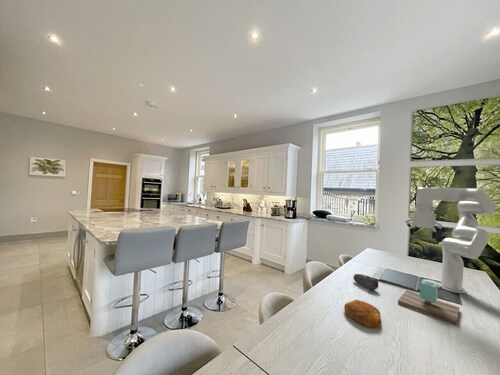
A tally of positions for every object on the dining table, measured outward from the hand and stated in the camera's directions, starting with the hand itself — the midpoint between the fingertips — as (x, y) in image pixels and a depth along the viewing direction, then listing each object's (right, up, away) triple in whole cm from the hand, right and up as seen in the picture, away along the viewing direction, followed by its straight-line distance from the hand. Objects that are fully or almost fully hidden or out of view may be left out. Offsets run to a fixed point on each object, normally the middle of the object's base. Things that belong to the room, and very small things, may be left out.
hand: (422, 236), depth 125 cm
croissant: (-50, -31, -28) cm, 65 cm away
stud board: (-10, -33, -16) cm, 38 cm away
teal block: (-10, -28, -16) cm, 34 cm away
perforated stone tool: (-32, -32, +5) cm, 45 cm away
